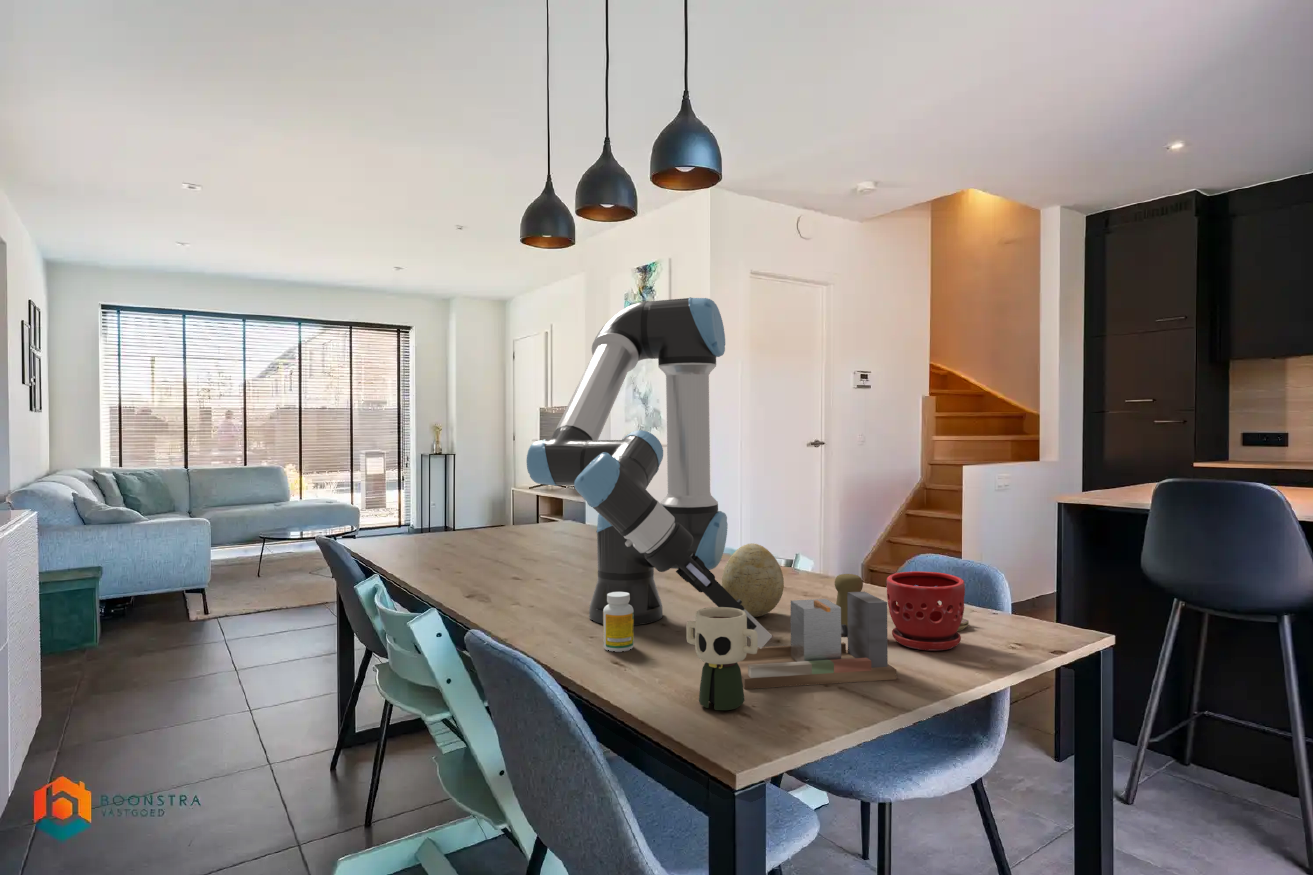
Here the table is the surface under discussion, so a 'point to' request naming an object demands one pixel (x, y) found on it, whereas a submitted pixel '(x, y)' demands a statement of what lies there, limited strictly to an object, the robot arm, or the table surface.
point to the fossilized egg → (754, 579)
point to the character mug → (721, 654)
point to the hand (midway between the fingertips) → (765, 641)
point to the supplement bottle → (618, 623)
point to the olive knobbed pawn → (843, 586)
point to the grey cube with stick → (816, 630)
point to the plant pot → (926, 609)
